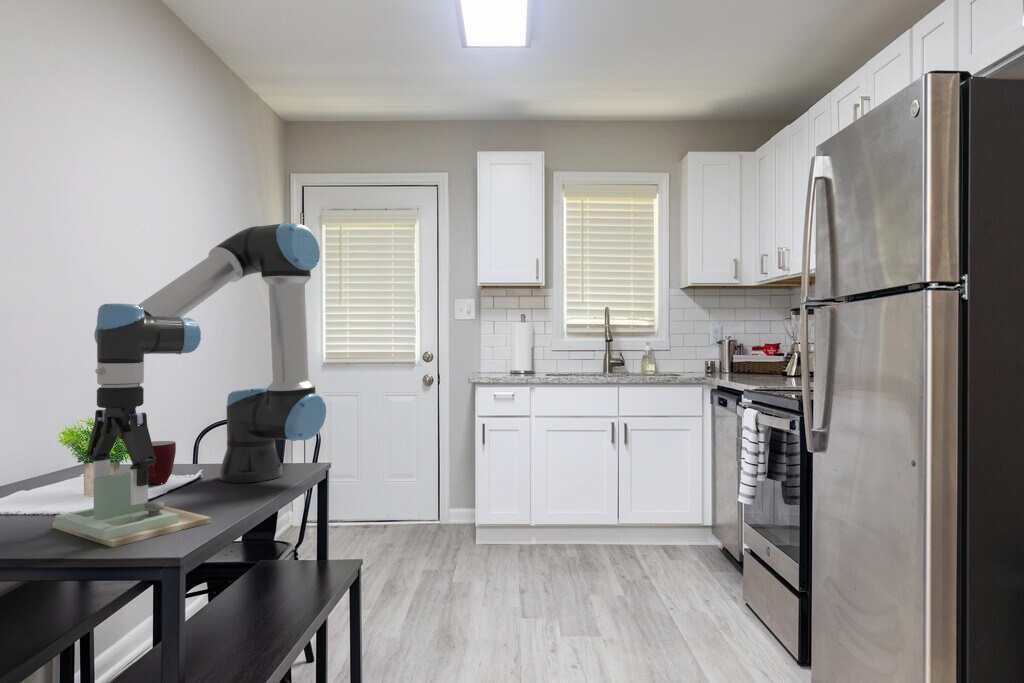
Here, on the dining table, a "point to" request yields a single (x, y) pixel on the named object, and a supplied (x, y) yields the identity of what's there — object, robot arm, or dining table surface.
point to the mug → (162, 462)
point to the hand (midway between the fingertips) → (120, 498)
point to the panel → (114, 523)
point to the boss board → (154, 510)
